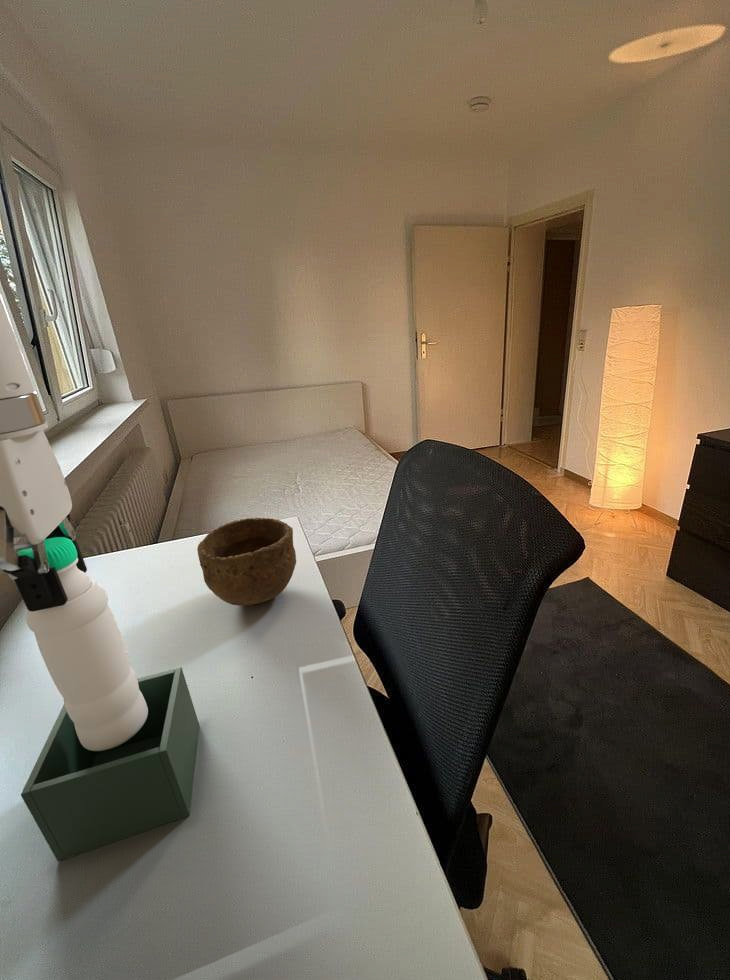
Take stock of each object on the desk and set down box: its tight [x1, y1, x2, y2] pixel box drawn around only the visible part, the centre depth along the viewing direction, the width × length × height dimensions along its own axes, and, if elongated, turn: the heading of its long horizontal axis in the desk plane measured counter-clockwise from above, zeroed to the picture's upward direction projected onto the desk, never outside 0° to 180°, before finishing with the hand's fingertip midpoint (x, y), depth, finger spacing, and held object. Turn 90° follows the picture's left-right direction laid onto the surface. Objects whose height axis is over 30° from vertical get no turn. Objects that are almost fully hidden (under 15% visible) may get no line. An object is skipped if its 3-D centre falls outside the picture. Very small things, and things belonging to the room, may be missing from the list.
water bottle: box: [17, 537, 148, 751], centre depth 49 cm, size 7×7×25 cm
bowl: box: [196, 517, 297, 606], centre depth 92 cm, size 19×19×15 cm
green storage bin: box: [20, 666, 200, 862], centre depth 55 cm, size 14×14×11 cm
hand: (59, 588), depth 46 cm, fingers closed on water bottle, 5 cm apart
